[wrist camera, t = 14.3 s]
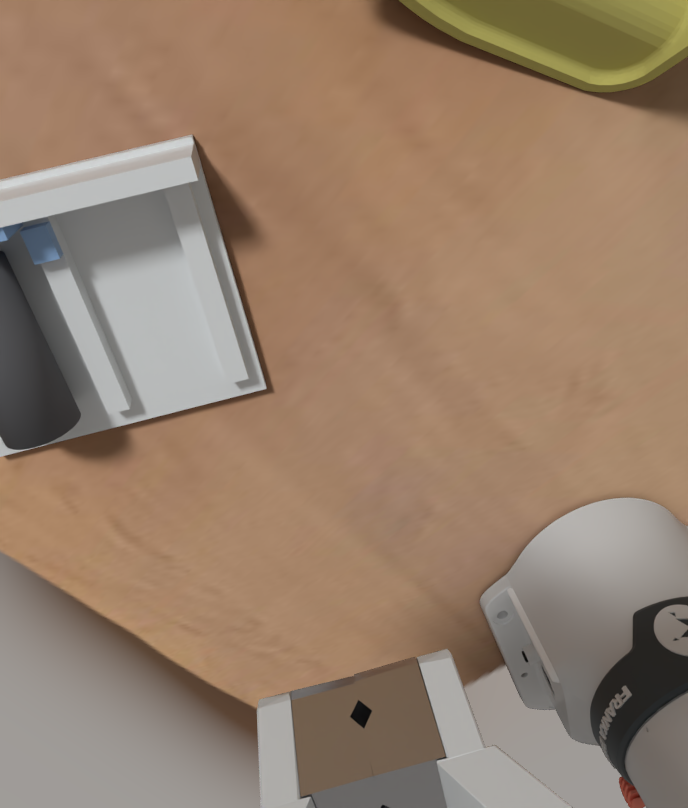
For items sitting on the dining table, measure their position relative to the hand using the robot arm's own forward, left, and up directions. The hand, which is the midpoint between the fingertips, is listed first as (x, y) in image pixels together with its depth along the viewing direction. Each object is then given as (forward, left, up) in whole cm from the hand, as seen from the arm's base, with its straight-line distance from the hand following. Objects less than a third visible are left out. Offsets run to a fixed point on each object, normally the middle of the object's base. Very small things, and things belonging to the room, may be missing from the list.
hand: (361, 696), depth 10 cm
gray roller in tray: (-2, +13, -28) cm, 31 cm away
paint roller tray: (-2, +10, -28) cm, 30 cm away
